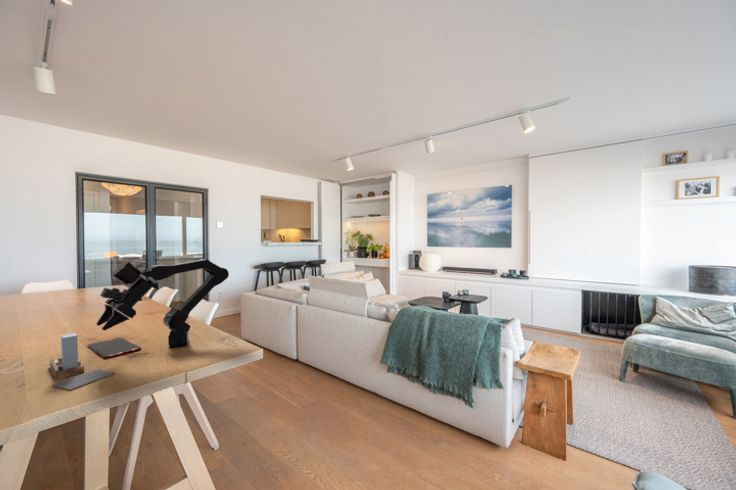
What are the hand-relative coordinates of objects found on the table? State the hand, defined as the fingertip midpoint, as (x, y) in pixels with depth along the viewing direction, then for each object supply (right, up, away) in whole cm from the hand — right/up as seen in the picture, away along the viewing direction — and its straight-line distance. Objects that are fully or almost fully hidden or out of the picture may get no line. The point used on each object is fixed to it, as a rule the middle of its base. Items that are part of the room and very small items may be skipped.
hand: (100, 327), depth 111 cm
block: (-5, -14, -6) cm, 16 cm away
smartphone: (-9, -14, +17) cm, 23 cm away
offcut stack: (-12, -13, 0) cm, 18 cm away
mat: (+5, -14, -12) cm, 19 cm away
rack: (-8, -13, -4) cm, 16 cm away
